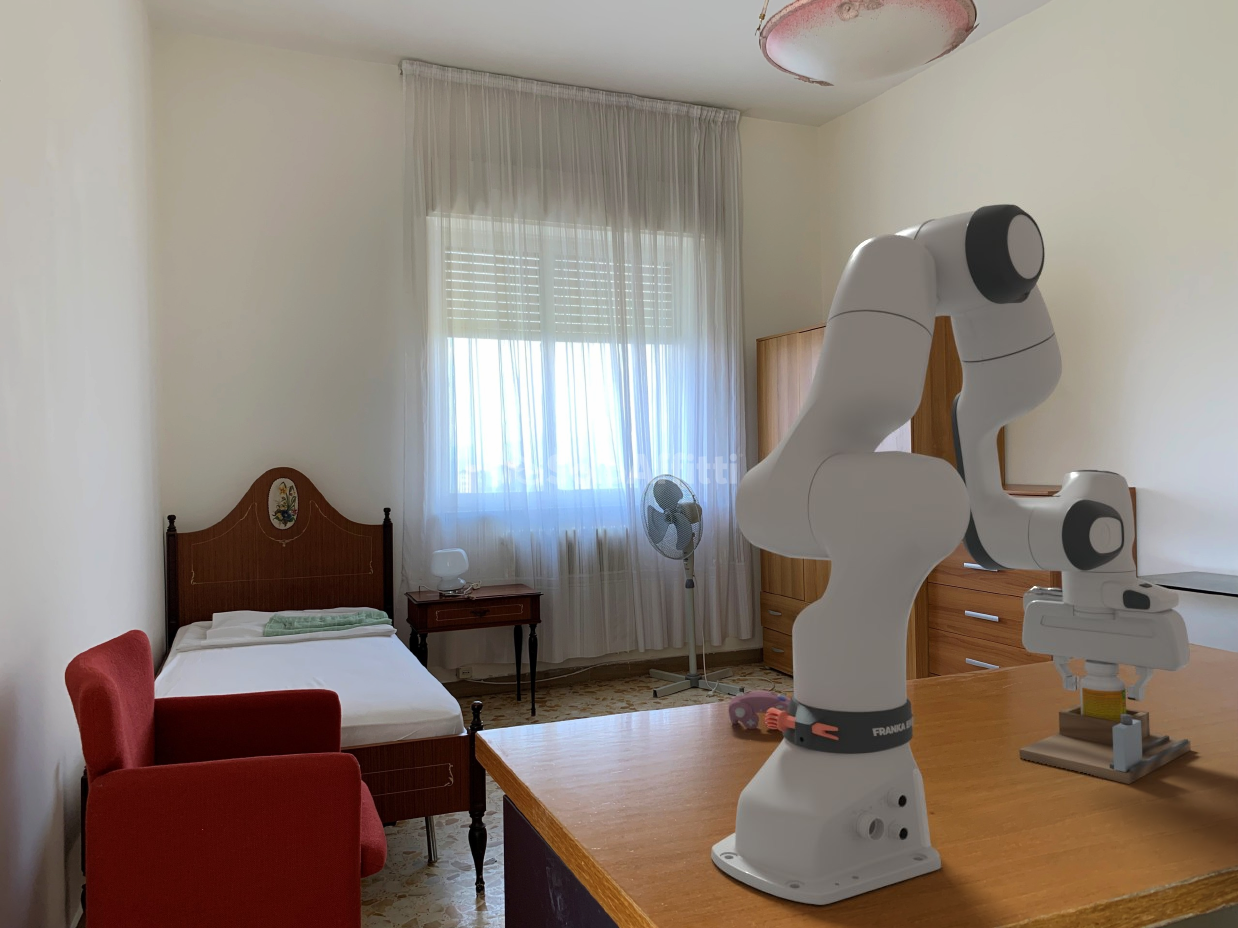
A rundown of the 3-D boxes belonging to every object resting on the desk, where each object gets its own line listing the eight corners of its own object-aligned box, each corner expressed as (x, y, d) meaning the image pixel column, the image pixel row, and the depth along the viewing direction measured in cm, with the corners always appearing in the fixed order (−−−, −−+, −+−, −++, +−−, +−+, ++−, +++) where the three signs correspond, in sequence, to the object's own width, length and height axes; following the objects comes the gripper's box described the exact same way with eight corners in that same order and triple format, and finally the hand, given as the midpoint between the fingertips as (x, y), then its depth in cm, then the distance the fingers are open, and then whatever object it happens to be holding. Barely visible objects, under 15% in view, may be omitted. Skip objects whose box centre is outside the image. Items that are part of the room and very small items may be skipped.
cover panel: (1124, 771, 103) (1122, 720, 103) (1114, 769, 104) (1112, 718, 104) (1142, 762, 106) (1140, 712, 106) (1131, 760, 107) (1129, 710, 107)
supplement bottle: (1133, 741, 115) (1130, 666, 115) (1088, 739, 116) (1085, 665, 116) (1119, 729, 120) (1116, 658, 120) (1076, 728, 121) (1073, 657, 121)
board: (1131, 784, 102) (1130, 748, 103) (1019, 758, 113) (1018, 725, 113) (1193, 750, 114) (1191, 717, 114) (1086, 729, 125) (1085, 699, 125)
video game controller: (728, 738, 130) (725, 701, 127) (730, 717, 134) (727, 680, 131) (797, 741, 128) (795, 703, 125) (797, 719, 132) (795, 682, 129)
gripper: (1011, 587, 125) (1015, 685, 124) (1173, 599, 109) (1177, 712, 108) (1033, 583, 129) (1037, 678, 128) (1192, 594, 113) (1196, 703, 112)
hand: (1102, 694), depth 118 cm, fingers open, 7 cm apart
